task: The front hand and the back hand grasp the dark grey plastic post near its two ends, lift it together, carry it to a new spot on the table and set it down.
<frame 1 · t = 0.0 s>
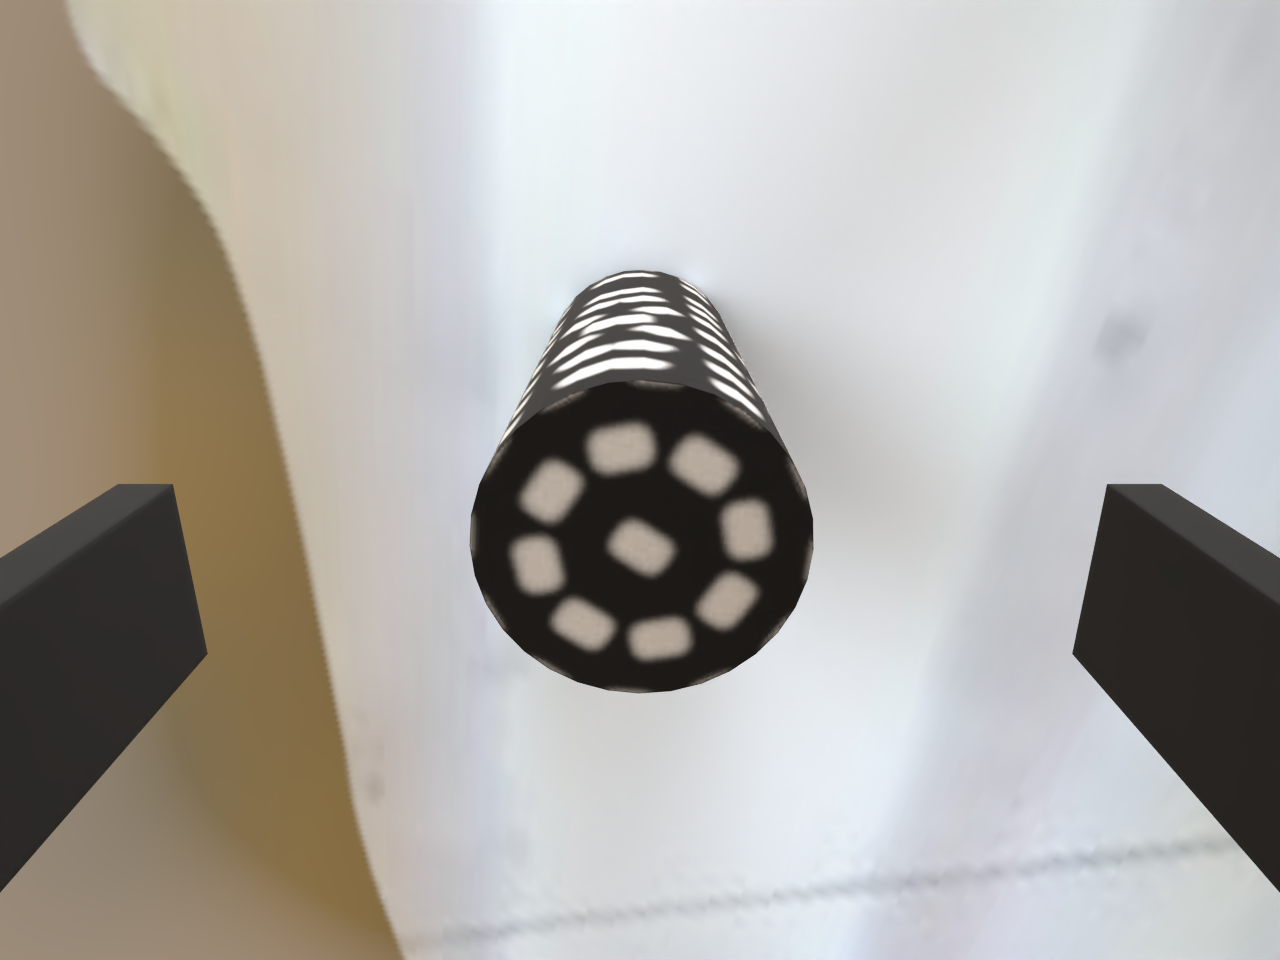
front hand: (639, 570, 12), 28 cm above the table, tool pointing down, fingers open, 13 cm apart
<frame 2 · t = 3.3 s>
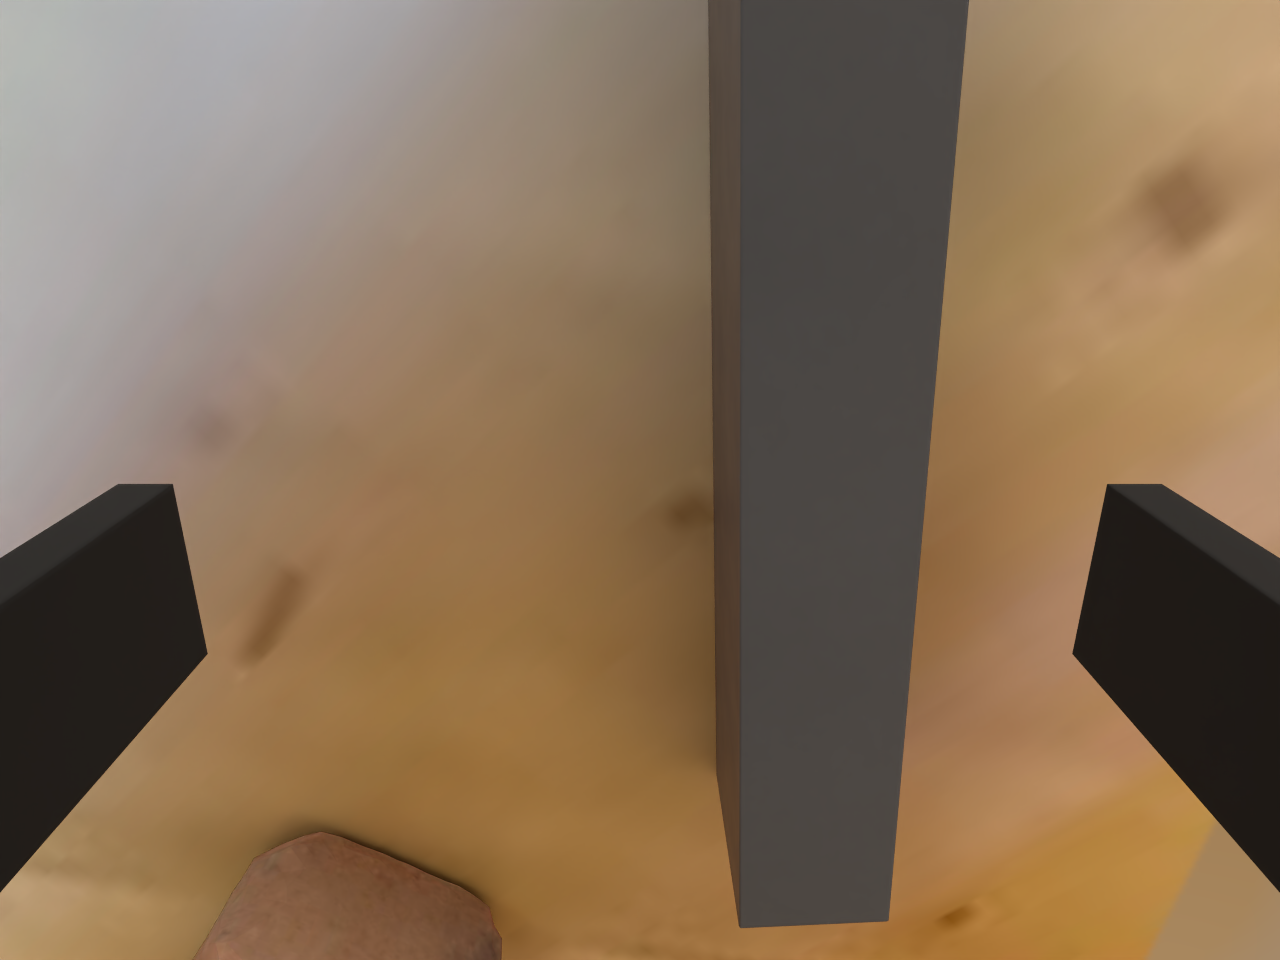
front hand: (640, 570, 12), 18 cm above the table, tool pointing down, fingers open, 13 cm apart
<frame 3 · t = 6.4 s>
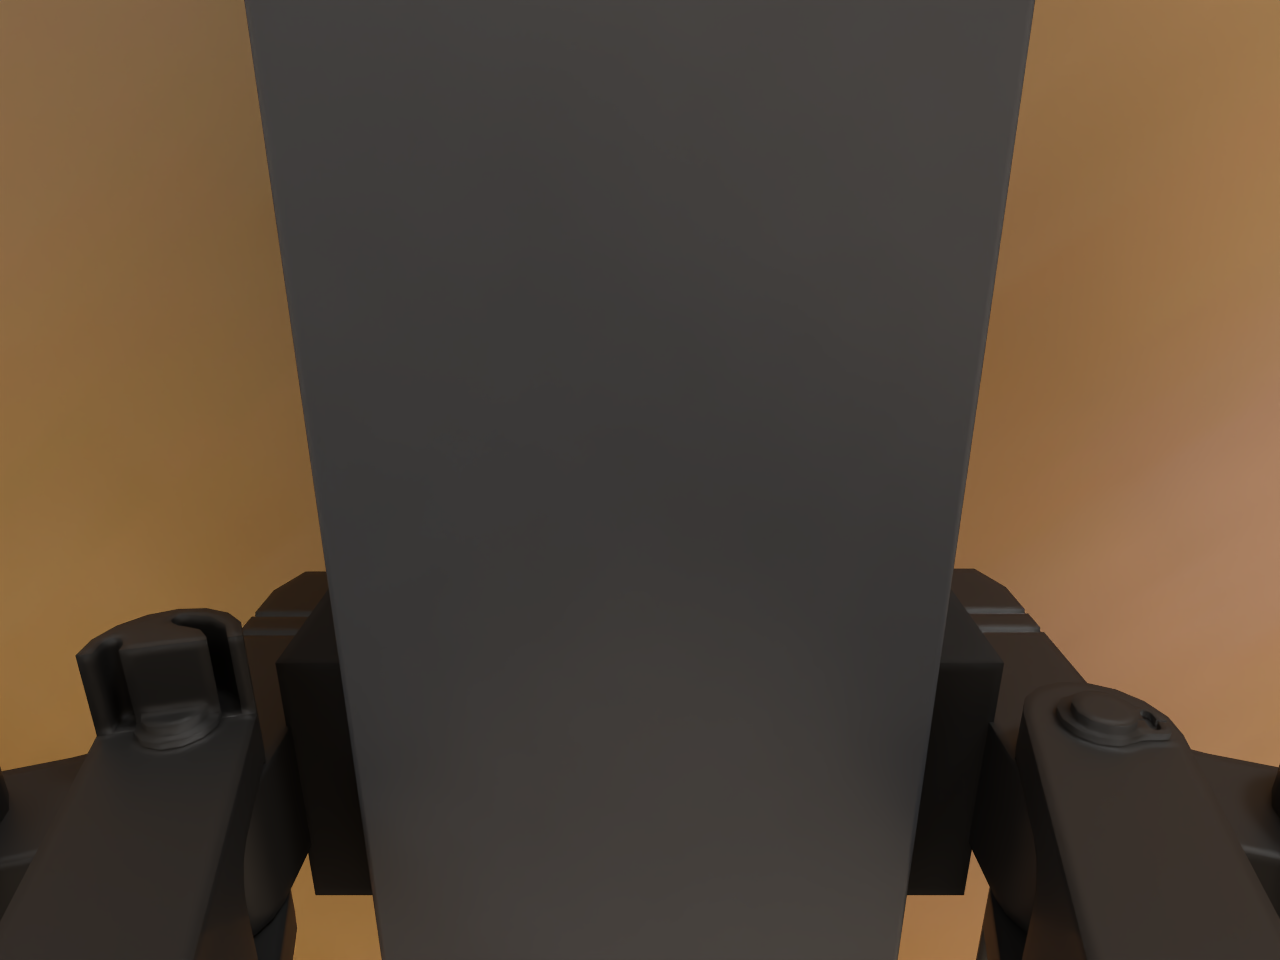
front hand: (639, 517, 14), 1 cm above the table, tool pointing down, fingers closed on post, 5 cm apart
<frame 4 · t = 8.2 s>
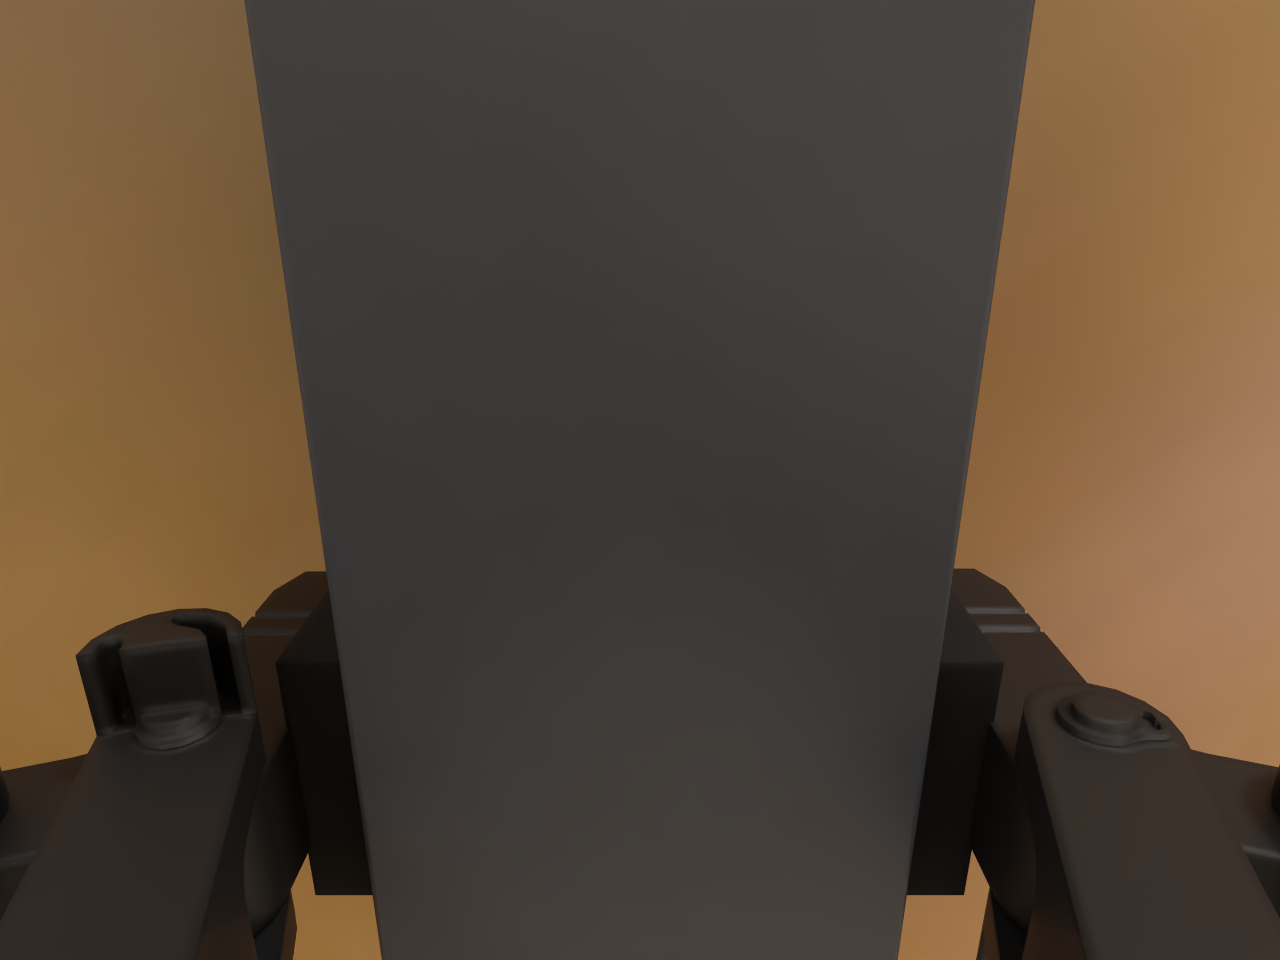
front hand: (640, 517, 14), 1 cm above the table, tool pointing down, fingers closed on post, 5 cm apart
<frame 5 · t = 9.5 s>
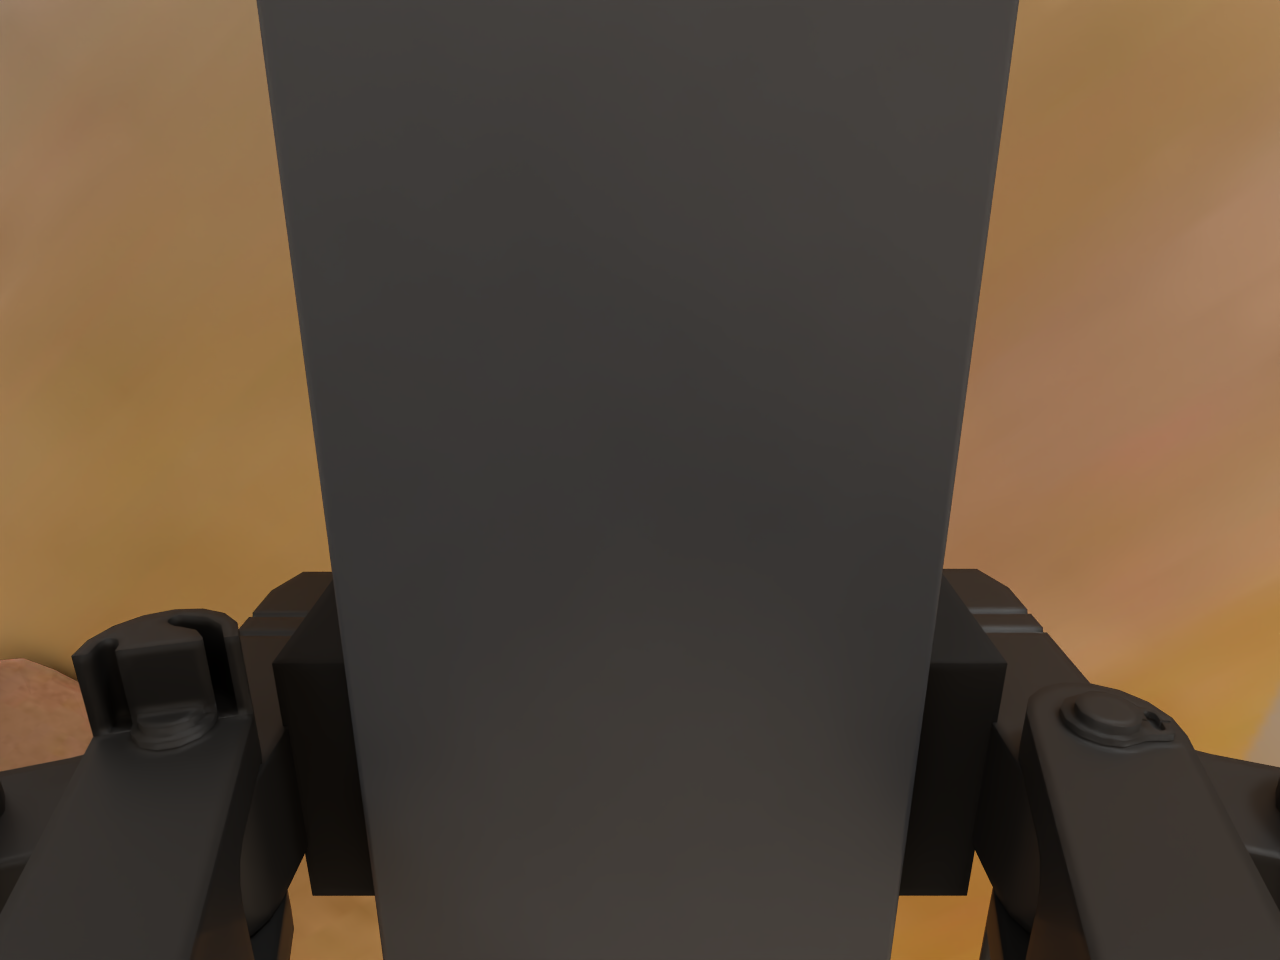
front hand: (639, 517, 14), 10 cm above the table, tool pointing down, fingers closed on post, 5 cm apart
stone: (25, 895, 30), on the table
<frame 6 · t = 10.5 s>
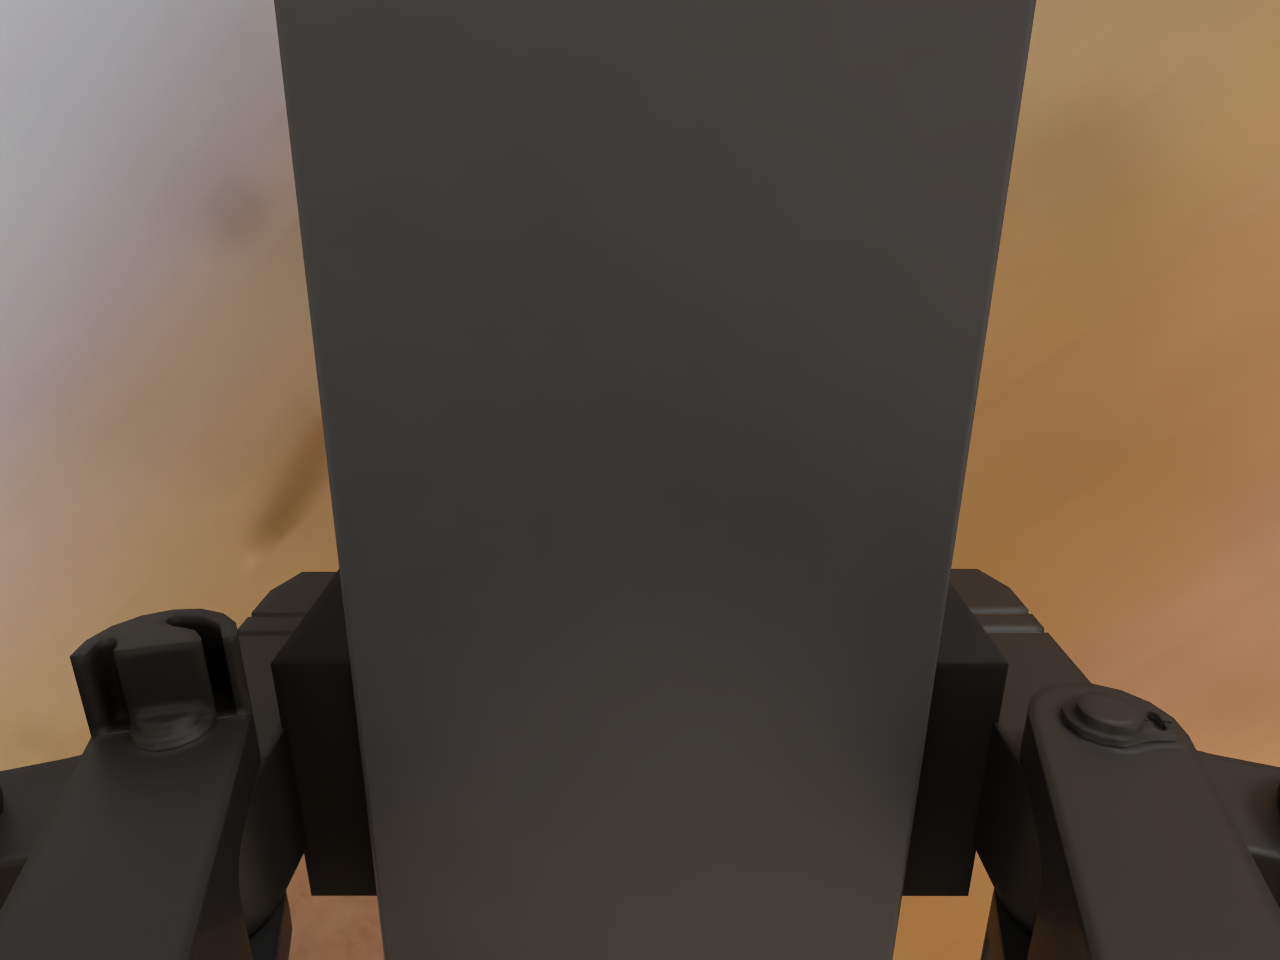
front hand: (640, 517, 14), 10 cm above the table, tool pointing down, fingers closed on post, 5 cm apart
when the front hand's fingers open (2 cm above the table, at t = 12.6 s): post drops 1 cm, on the table.
when the back hand's fingers open (4 cm above the table, at t = 12.8 s): post stays where it is, on the table.
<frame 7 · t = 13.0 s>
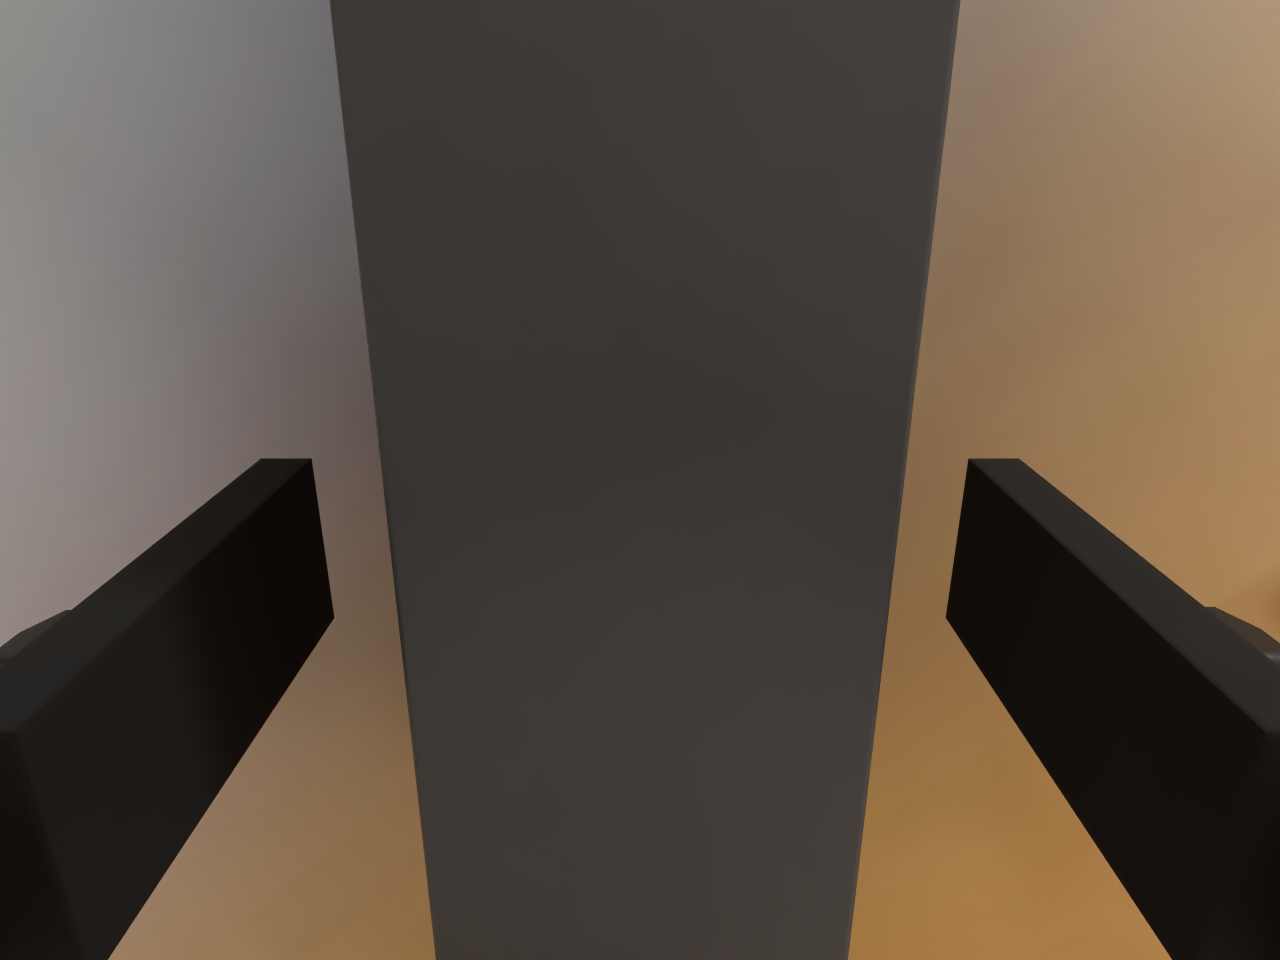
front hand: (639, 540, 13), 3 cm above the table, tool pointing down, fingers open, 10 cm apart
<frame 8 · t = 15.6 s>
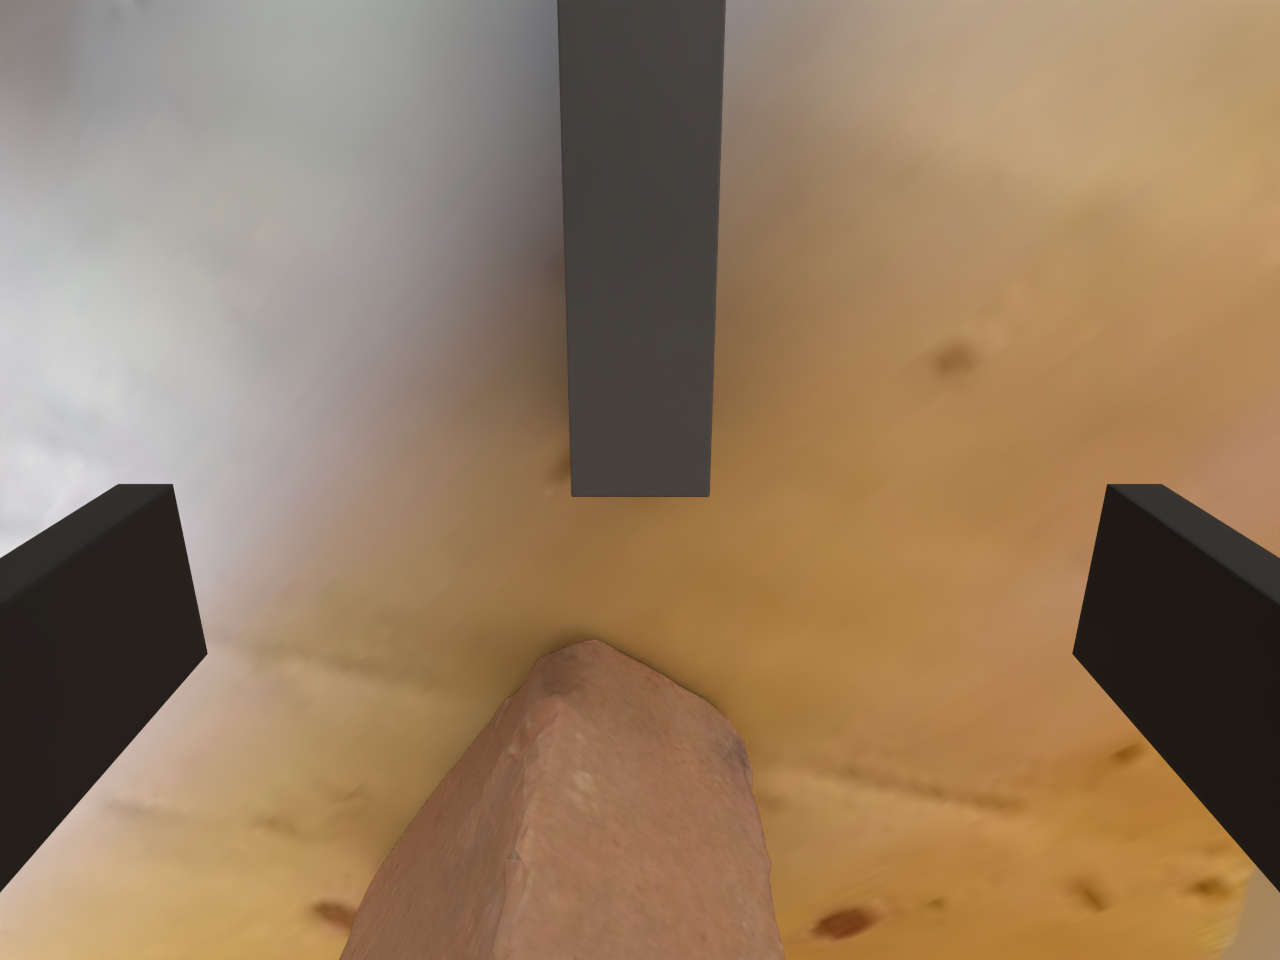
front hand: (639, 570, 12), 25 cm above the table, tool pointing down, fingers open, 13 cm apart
stone: (547, 795, 45), on the table
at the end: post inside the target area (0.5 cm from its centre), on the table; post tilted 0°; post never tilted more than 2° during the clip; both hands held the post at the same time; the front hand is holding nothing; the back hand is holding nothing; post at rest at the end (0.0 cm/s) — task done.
